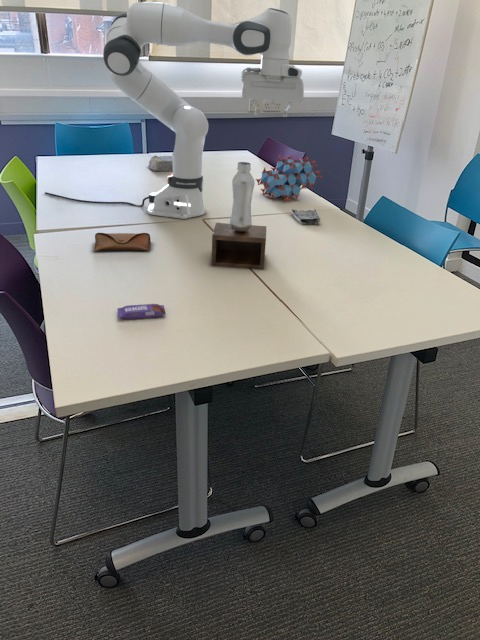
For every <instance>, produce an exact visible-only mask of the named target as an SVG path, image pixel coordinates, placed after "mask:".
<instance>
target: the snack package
mask: <svg viewBox="0 0 480 640" xmlns="http://www.w3.org/2000/svg"><path fill="white" fill-rule="evenodd" d="M116 309H117V318H118V319H124V320H138V319H151V318H159V317H161V316H166V315H167V313H166V309H165V305H164V304H159V303H146V304H131V305H125V306H122V307H117V308H116Z"/></svg>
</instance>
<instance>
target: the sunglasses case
mask: <svg viewBox="0 0 480 640" xmlns="http://www.w3.org/2000/svg"><path fill="white" fill-rule="evenodd" d="M151 248H152V242H151V234H150V233H148V232H140V233H133V232H132V233H131V232H130V233H129V232H123V233H122V232H119V233H117V232H115V233H113V232H112V233H110V232H109V233H106V232H96V233H95V234H94V248H93V252H146V251H151Z"/></svg>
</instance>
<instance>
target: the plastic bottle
mask: <svg viewBox="0 0 480 640" xmlns="http://www.w3.org/2000/svg"><path fill="white" fill-rule="evenodd" d="M251 169H252V168H251V163H250V162H247V161H238V162H237V167H236V170H237V172H236V173H235V174H234V176H233V178H232V181H231V185H232V187H231V188H232V208H231V214H230V217H229V218H230V219H229V224H230V226H231V228H232V229H233V230H235V231H248V230H249V229H250V228H251V225H253V219H252V199H253V194H254V189H255V184H256V183H255V178H254V177H253V175H252V173H251V172H250V171H251Z"/></svg>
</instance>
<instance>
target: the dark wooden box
mask: <svg viewBox="0 0 480 640" xmlns="http://www.w3.org/2000/svg"><path fill="white" fill-rule="evenodd" d="M266 242H267V226H266V225H255V224H254V225H253V224H251V228H250V229H249V230H248V231H235V230H233V229H232V228H231V226H230V223H223V222H222V223H221V222H215V225H214V228H213V231H212V235H211V266H212V267H222V268H223V267H225V268H239V269H253V270H265V257H266Z"/></svg>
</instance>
